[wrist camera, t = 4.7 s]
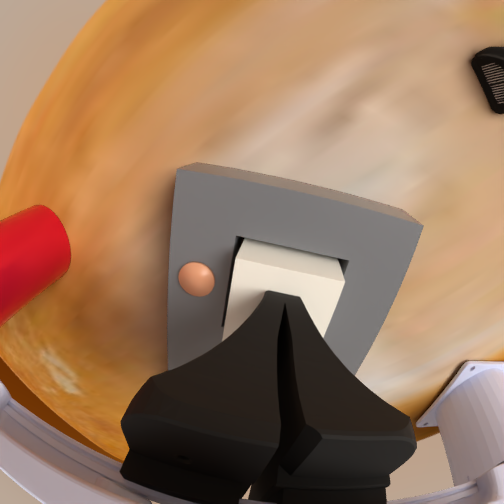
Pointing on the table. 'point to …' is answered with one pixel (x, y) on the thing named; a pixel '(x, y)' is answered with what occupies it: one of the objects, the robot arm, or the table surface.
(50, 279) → the bottle
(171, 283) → the key panel
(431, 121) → the table surface
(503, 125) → the table surface
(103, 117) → the table surface
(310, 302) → the key
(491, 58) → the electric trimmer
